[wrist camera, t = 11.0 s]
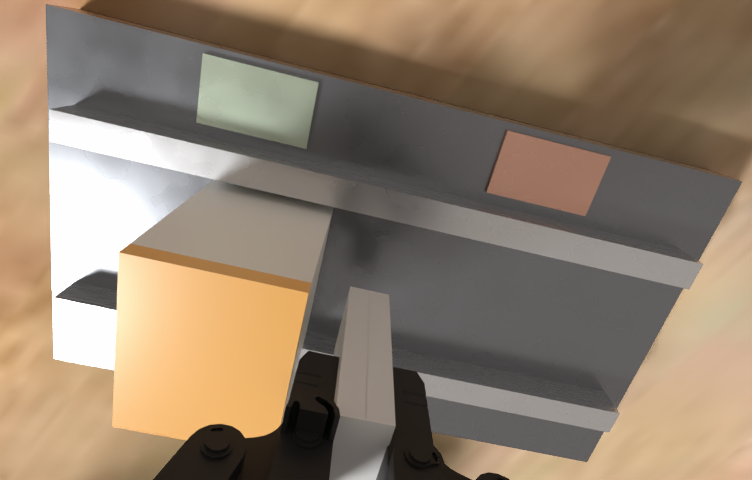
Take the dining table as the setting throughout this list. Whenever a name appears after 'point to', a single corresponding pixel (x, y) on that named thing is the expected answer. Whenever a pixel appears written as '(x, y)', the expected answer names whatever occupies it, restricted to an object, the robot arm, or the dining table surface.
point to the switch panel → (383, 221)
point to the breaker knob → (216, 312)
